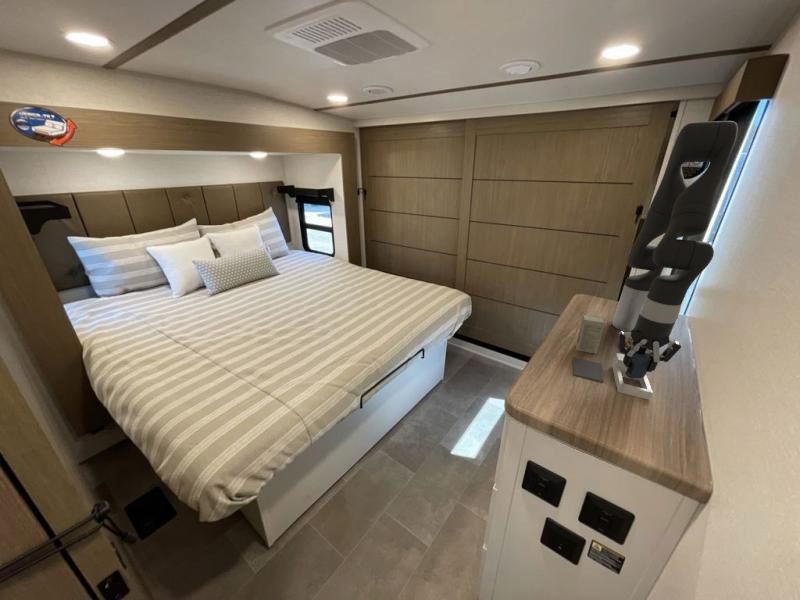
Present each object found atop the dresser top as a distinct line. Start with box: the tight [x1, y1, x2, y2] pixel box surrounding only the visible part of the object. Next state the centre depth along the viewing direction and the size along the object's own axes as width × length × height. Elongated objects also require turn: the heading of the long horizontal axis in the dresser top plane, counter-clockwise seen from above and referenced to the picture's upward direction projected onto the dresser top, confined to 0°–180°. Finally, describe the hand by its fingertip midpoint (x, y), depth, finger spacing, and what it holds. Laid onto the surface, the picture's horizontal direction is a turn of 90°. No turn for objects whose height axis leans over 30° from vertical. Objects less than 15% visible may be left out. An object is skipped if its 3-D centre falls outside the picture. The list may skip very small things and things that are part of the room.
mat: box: [572, 356, 605, 383], centre depth 96 cm, size 10×8×1 cm
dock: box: [611, 352, 654, 401], centre depth 94 cm, size 24×8×5 cm, turn 153°
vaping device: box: [625, 344, 652, 380], centre depth 86 cm, size 3×5×12 cm, turn 95°
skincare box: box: [575, 314, 606, 355], centre depth 104 cm, size 6×4×12 cm
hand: (637, 367), depth 87 cm, fingers closed on vaping device, 4 cm apart
